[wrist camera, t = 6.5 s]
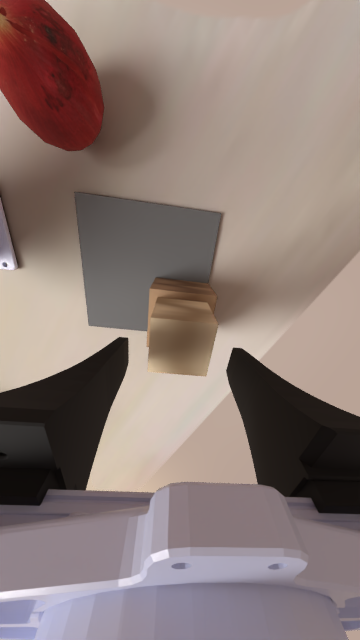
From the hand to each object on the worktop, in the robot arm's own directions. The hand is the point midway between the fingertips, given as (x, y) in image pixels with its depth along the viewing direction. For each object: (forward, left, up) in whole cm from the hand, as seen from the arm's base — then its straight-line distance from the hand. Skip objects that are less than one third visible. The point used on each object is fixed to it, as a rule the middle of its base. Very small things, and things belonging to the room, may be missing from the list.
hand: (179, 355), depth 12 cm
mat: (-4, +3, -10) cm, 12 cm away
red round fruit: (-10, +15, -11) cm, 21 cm away
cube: (0, 0, -5) cm, 5 cm away
